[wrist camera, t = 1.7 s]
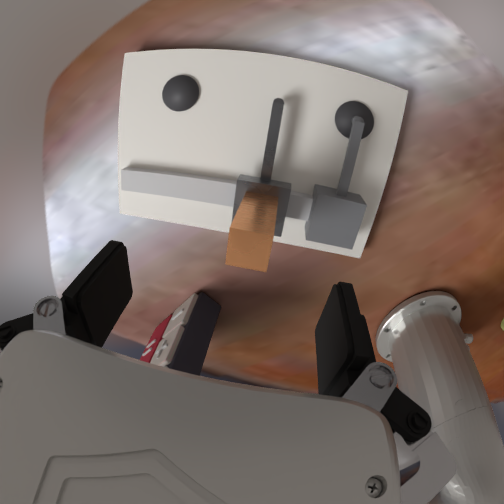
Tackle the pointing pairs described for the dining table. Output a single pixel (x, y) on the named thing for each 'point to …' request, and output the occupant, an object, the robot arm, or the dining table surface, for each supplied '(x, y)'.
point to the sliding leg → (259, 207)
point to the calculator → (184, 336)
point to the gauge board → (255, 141)
